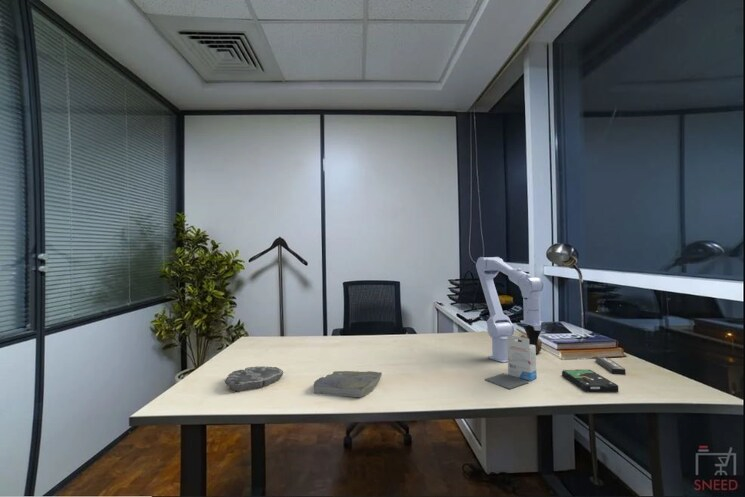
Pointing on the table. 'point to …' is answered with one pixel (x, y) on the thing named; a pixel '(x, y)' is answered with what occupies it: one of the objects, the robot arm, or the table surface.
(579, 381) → the disk drive
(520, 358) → the ink box
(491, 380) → the mat
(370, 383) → the fossil
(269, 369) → the brain slice
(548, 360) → the table surface
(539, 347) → the seashell
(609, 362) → the multiport hub
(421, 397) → the table surface
